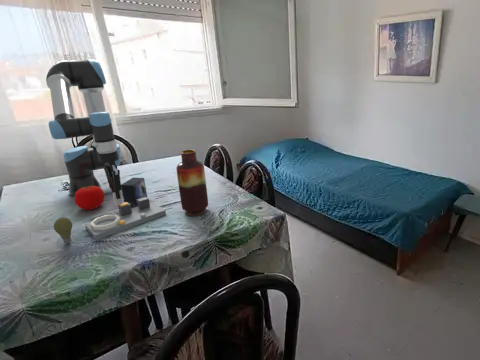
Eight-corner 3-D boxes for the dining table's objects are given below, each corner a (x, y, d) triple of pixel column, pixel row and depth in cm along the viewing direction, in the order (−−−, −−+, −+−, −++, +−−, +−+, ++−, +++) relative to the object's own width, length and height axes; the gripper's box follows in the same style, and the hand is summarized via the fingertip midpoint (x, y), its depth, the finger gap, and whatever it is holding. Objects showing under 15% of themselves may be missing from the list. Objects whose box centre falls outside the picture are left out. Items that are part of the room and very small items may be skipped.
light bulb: (63, 240, 109) (56, 215, 106) (79, 238, 110) (72, 214, 106) (56, 248, 104) (48, 222, 101) (72, 246, 104) (65, 221, 101)
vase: (213, 207, 128) (207, 148, 119) (202, 218, 118) (194, 155, 110) (190, 205, 132) (182, 147, 123) (177, 216, 122) (168, 154, 113)
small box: (137, 206, 134) (132, 185, 131) (124, 206, 136) (119, 184, 132) (148, 197, 144) (144, 177, 141) (136, 197, 145) (132, 177, 142)
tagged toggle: (119, 213, 123) (117, 204, 121) (129, 210, 125) (127, 201, 124) (122, 216, 121) (120, 206, 119) (132, 212, 123) (130, 203, 122)
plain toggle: (138, 207, 128) (136, 199, 126) (147, 204, 130) (145, 196, 129) (141, 209, 125) (139, 201, 124) (150, 206, 128) (148, 198, 127)
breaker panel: (86, 228, 117) (84, 220, 116) (152, 205, 134) (151, 198, 133) (96, 240, 108) (93, 231, 107) (166, 214, 124) (164, 206, 123)
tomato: (72, 212, 133) (66, 190, 130) (93, 201, 144) (88, 180, 141) (91, 214, 130) (85, 192, 126) (111, 203, 140) (106, 182, 137)
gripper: (92, 151, 122) (105, 203, 130) (102, 155, 113) (115, 212, 120) (111, 147, 127) (122, 198, 134) (122, 151, 117) (133, 206, 125)
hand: (119, 205), depth 127 cm, fingers closed
